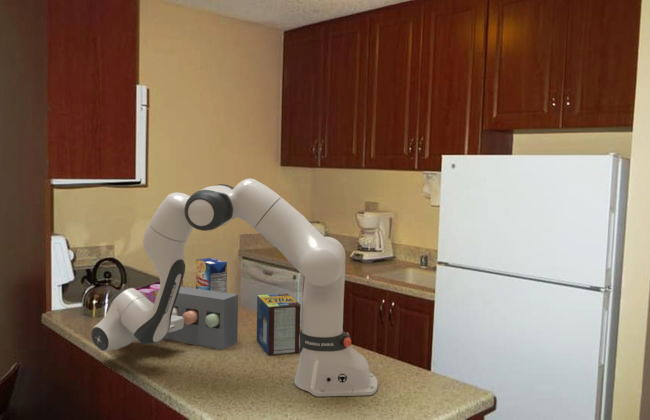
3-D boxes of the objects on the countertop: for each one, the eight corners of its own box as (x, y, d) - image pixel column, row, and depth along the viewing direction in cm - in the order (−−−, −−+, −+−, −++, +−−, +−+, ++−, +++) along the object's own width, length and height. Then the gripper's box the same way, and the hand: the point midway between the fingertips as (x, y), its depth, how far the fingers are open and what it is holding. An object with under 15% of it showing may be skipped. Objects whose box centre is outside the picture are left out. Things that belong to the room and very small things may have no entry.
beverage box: (209, 324, 204) (210, 264, 202) (195, 317, 212) (196, 259, 211) (226, 321, 208) (227, 262, 207) (211, 314, 217) (212, 257, 215)
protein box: (286, 338, 191) (287, 292, 189) (300, 353, 176) (301, 304, 175) (255, 340, 187) (256, 294, 186) (267, 356, 173) (268, 306, 171)
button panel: (237, 342, 184) (238, 294, 183) (223, 349, 177) (224, 299, 176) (177, 332, 194) (177, 286, 192) (162, 338, 186) (162, 290, 185)
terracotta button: (200, 322, 182) (200, 310, 181) (192, 325, 178) (192, 313, 178) (189, 320, 183) (189, 308, 183) (182, 323, 180) (182, 311, 179)
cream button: (182, 318, 186) (182, 306, 186) (174, 321, 182) (174, 308, 182) (172, 316, 188) (172, 304, 187) (164, 319, 184) (164, 307, 184)
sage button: (223, 325, 180) (223, 312, 179) (215, 328, 176) (216, 315, 176) (212, 323, 181) (212, 311, 181) (205, 326, 177) (205, 313, 177)
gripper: (166, 319, 166) (195, 308, 178) (113, 310, 174) (144, 300, 187) (166, 340, 166) (195, 328, 179) (113, 330, 174) (144, 319, 187)
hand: (169, 314), depth 183 cm, fingers closed
